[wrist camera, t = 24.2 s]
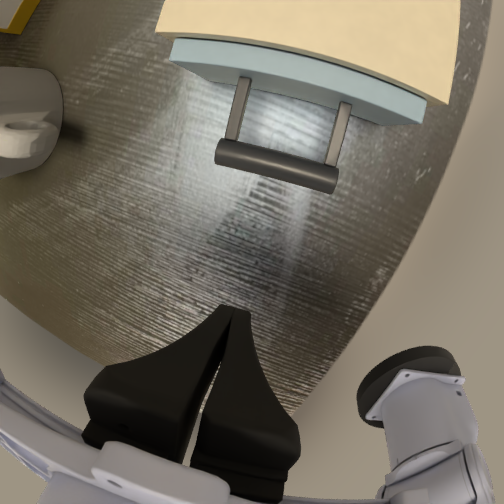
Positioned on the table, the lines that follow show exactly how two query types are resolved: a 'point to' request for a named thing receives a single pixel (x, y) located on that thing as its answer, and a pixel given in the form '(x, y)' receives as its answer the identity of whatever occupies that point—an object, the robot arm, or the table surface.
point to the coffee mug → (28, 118)
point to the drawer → (298, 86)
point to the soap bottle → (15, 14)
